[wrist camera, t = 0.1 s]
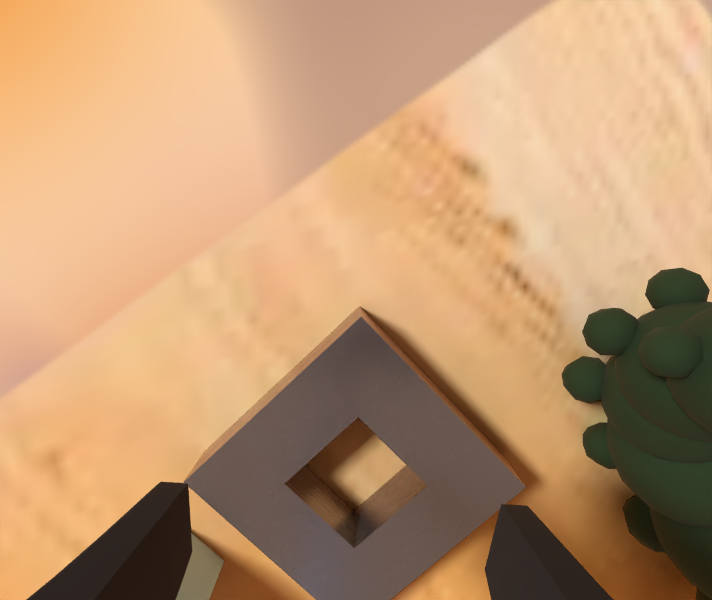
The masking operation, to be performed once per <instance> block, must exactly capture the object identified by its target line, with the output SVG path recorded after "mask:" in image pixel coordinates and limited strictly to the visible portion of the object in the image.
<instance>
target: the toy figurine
mask: <svg viewBox="0 0 712 600" xmlns="http://www.w3.org/2000/svg"><path fill="white" fill-rule="evenodd" d="M709 291H710V290H709V288H708V287H707V285H706V283H705V282H704V280H703V279H702V277H701V275H699V274H697V273H694V272H692V271H689V270H686V269H684V268H676V269H668V270H661V271H660V272H659V273H657V274H656V275H655V276H653V277H652V278H651V279H650V280H649V281H648V285H647V289H646V293H645V295H646V297H647V299H648V300H649V302H650V304H651V306H652V307H653V308H654V309H656V310H653V311H651V312H649V313H647V314H645V315H642V316H641V317H639V318H638V319H636V318H635V317H634V316H632V315H630V314H629V313H627V312H626V311H624V310H623V309H620V308H610V309H601V310H599V311H597V312H594V313H592V314H590V315H589V316H588V319H587V321H586V324H585V326H584V329H583V331H582V333H583V335H584V338H585V341H586V343H587V346H589V347H590V348H591V349H593V350H594V351H596V352H597V353H599V354H600V355H613V356H612V357H611V358H610V359H609V361H608V362H607V364H606V365H605V364H604V363H603V362H602V361H601V360H600V359H599V358H592V357H585V356H582V357H580V358H579V359H577V360H575V361H573V362H572V363H570V364H569V365H567V366H566V367H565V369H564V371H563V373H562V378H563V385H564V387H565V388H566V389H567V390H568V391H569V393H570V394H571V395H572V396H573V397H574V398H575V399H576V400H579V401H583V402H586V403H593V402H595V401H598V400H601V401H602V407H603V409H604V411H605V413H606V415H607V418H608V422H607V423H598V424H595V425H593V426H590V427H588V428H587V429H586V431H585V432H584V434H583V446H584V449H585V452H586V455H587V456H588V457H589V458H591V459H592V460H593V461H595V462H596V463H598V464H600V465H602V466H604V467H606V468H608V469H616V468H617V471H618V473H619V475H620V477H621V479H622V481H623V482H624V483H625V484H626V485H627V486H628V487H629V488H630V489H631V490H632V491H633V492H634V493H635V494H636V495H635V496H633V497H631V498H630V499H628V500H627V501H626V503H625V505H624V507H623V510H624V514H625V518H626V522H627V526H628V529H629V532H630V533H631V534H632V535H633V536H634V537H635V538H636V539H637V540H638V541H639V542H640V543H642V544H643V545H644V546H646V547H648V548H650V549H652V550H654V551H657V552H663V553H666V554H667V555H668V557H669V558H670V559H671V560H672V562H673V563H674V564H675V565H676V567H677V568H678V569H679V570H680V571H681V572H682V574H683V575H684V576H685V577H686V578H687V579H688V581H689V582H690V583H691V584H692V585H693V586H695V587H696V588H697V593H696V600H712V302H706V301H707V298H708V295H709Z"/></svg>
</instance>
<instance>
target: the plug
mask: <svg viewBox="0 0 712 600" xmlns="http://www.w3.org/2000/svg"><path fill="white" fill-rule="evenodd" d="M191 537H192V554H191V557H190V560H189V563H188V566H187V569H186V572H185V575H184V578H183V581H182V584H181V586H180V589H179V592H178V595H177V598H176V600H209V599H210V596H211V594H212V591H213V589H214V586H215V584H216V581H217V578H218V576H219V573H220V571H221V568H222V566H223V563H224V560H223V559H222V558H220V557H219V556H218V555H217V554H216V553H215V552H213V551H212V550H211V549H210V548H209V547H208V546H207V545H205V544H204V543H203V542H202V541H201V540H200V539H198V538H197V537H196V536H195V535H194V534H193V533H192V532H191Z"/></svg>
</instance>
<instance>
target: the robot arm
mask: <svg viewBox="0 0 712 600" xmlns="http://www.w3.org/2000/svg"><path fill="white" fill-rule="evenodd" d="M191 554H192V537H191V522H190V506H189V491H188V484H187V483H172V482H160V483H159V484H158V485H156V486H155V487H154V488H153V489H152V490H151V491H150V492H149V493H148V494H146V495H145V496H144V497H143V498H142V499H141V500H140V501H139V502H138V503H137V504H136V505H134V506H133V507H132V508H131V509H130V510H129V511H128V512H127V513H126V514H125V515H124V516H122V517H121V518H120V519H119V520H118V521H117V522H116V523H115V524H114V525H113V526H111V527H110V528H109V529H108V530H107V531H106V532H105V533H104V534H103V535H101V536H100V537H99V538H98V539H97V540H96V541H95V542H94V543H92V544H91V545H90V546H89V547H88V548H87V549H86V550H84V551H83V552H82V553H81V554H80V555H79V556H78V557H76V558H75V559H74V560H73V561H72V562H71V563H70V564H68V565H67V566H66V567H65V568H64V569H63V570H62V571H60V572H59V573H58V574H57V575H56V576H55V577H53V578H52V579H51V580H50V581H49V582H47V583H46V584H45V585H44V586H43V587H41V588H40V589H39V590H38V591H37V592H35V593H34V594H33V595H32V596H30V597H29V598H28V599H27V600H176V598H177V595H178V592H179V589H180V586H181V584H182V581H183V578H184V575H185V572H186V569H187V566H188V563H189V560H190V557H191ZM485 572H486V577H487V581H488V586H489V590H490V595H491V599H492V600H613V599H612V598H611V597H610V596H609V595H608V593H607V592H606V591H605V590H604V589H603V588H602V587H601V586H600V585H599V584H598V583H597V582H596V581H595V580H594V578H593V577H592V576H591V575H590V574H589V573H588V572H587V571H586V570H585V569H584V568H583V567H582V565H581V564H580V563H579V562H578V561H577V560H576V559H575V558H574V557H573V556H572V554H571V553H570V552H569V551H568V550H567V549H566V548H565V547H564V546H563V545H562V543H561V542H560V541H559V540H558V539H557V538H556V537H555V536H554V535H553V533H552V532H551V531H550V530H549V529H548V528H547V527H546V526H545V525H544V523H543V522H542V521H541V520H540V519H539V518H538V517H537V516H536V515H535V514H534V513H533V511H532V510H531V509H530V508H529V507H528V506H521V505H506V504H501V507H500V511H499V515H498V519H497V523H496V527H495V531H494V535H493V539H492V543H491V547H490V551H489V555H488V559H487V563H486V567H485Z"/></svg>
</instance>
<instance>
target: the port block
mask: <svg viewBox="0 0 712 600" xmlns="http://www.w3.org/2000/svg"><path fill="white" fill-rule="evenodd" d="M358 417H359V418H360V419H361V420H362V421H363V422H364V423H365V424H366V425H367V426H368V427H369V428H370V429H371V430H372V431H373V432H374V433H375V434H376V435H377V436H378V437H379V438H380V439H381V440H382V441H383V442H384V443H385V444H386V445H387V446H388V447H389V448H390V449H391V450H392V451H393V452H394V453H395V454H396V455H397V456H398V457H399V458H400V459H401V460H402V461H403V462H404V463H405V464H406V466H405V467H404V468H403V469H402V470H401V471H400V472H398V473H397V474H396V475H395V476H394V477H393V478H392V479H390V480H389V481H388V482H387V483H386V484H385V485H383V486H382V487H381V488H380V489H379V490H378V491H377V492H375V493H374V494H373V495H372V496H371V497H370V498H369V499H367V500H366V501H365V502H364V503H363V504H362V505H360V506H359V507H358V508H357V509H356V510H355V511H353V510H352V509H351V508H350V507H349V506H348V505H347V504H346V503H345V502H344V501H343V500H342V499H340V498H339V497H338V496H337V495H336V494H335V493H334V492H333V491H332V490H331V489H330V488H329V487H328V486H327V485H326V484H325V483H324V482H322V481H321V480H320V479H319V478H318V477H317V476H316V475H315V474H314V473H313V472H312V471H311V470H310V469H309V468H308V467H307V466H306V464H307V463H308V462H309V461H310V460H311V459H312V458H313V457H314V456H316V455H317V454H318V453H319V452H320V451H321V450H322V449H323V448H324V447H326V446H327V445H328V444H329V443H330V442H331V441H332V440H333V439H334V438H336V437H337V436H338V435H339V434H340V433H341V432H342V431H343V430H344V429H346V428H347V427H348V426H349V425H350V424H351V423H352V422H353V421H354V420H356V419H357V418H358ZM184 483H187V484H188V486H189V487H190V488H191V489H192V490H193V491H194V492H195V493H196V494H198V495H199V496H200V497H201V498H202V499H203V500H204V501H205V502H207V503H208V504H209V505H210V506H211V507H212V508H213V509H215V510H216V511H217V512H218V513H219V514H220V515H221V516H222V517H224V518H225V519H226V520H227V521H228V522H229V523H230V524H231V525H233V526H234V527H235V528H236V529H237V530H238V531H239V532H240V533H242V534H243V535H244V536H245V537H246V538H247V539H248V540H249V541H251V542H252V543H253V544H254V545H255V546H256V547H257V548H258V549H260V550H261V551H262V552H263V553H264V554H265V555H266V556H267V557H269V558H270V559H271V560H272V561H273V562H274V563H275V564H276V565H278V566H279V567H280V568H281V569H282V570H283V571H284V572H285V573H287V574H288V575H289V576H290V577H291V578H292V579H293V580H295V581H296V582H297V583H298V584H299V585H300V586H301V587H302V588H304V589H305V590H306V591H307V592H308V593H309V594H310V595H311V596H313V597H314V598H315V599H316V600H391V599H392V598H393V597H394V596H395V595H397V594H398V593H399V592H400V591H402V590H403V589H404V588H405V587H406V586H408V585H409V584H410V583H411V582H412V581H414V580H415V579H416V578H417V577H418V576H420V575H421V574H422V573H423V572H424V571H426V570H427V569H428V568H429V567H430V566H432V565H433V564H434V563H435V562H437V561H438V560H439V559H440V558H441V557H443V556H444V555H445V554H446V553H447V552H449V551H450V550H451V549H452V548H453V547H455V546H456V545H457V544H458V543H459V542H461V541H462V540H463V539H464V538H465V537H467V536H468V535H469V534H470V533H471V532H473V531H474V530H475V529H476V528H478V527H479V526H480V525H481V524H482V523H484V522H485V521H486V520H487V519H488V518H490V517H491V516H492V515H493V514H494V513H496V512H497V511H498V510H499V509H500V507H501V504H506V503H508V502H509V501H510V500H511V499H512V498H514V497H515V496H516V495H517V494H519V493H520V492H521V491H522V490H523V489H525V488H526V486H525V485H524V483H523V482H522V481H521V479H520V478H519V476H518V475H517V474H516V472H515V471H514V469H513V468H512V467H511V465H510V464H509V462H508V461H507V460H506V458H505V457H504V456H503V455H502V454H501V453H500V452H499V451H498V450H497V449H496V447H495V446H494V445H493V444H492V443H491V442H490V441H489V440H488V439H487V438H486V437H485V436H484V435H483V434H482V433H481V432H480V431H479V430H478V429H477V428H476V427H475V426H474V425H473V424H472V423H471V422H470V420H469V419H468V418H467V417H466V416H465V415H464V414H463V413H462V412H461V411H460V410H459V409H458V408H457V407H456V406H455V405H454V404H453V403H452V402H451V401H450V400H449V399H448V398H447V397H446V396H445V395H444V393H443V392H442V391H441V390H440V389H439V388H438V387H437V386H436V385H435V384H434V383H433V382H432V381H431V380H430V379H429V378H428V377H427V376H426V375H425V374H424V373H423V372H422V371H421V370H420V369H419V367H418V366H417V365H416V364H415V363H414V362H413V361H412V360H411V359H410V358H409V357H408V356H407V355H406V354H405V353H404V352H403V351H402V350H401V349H400V348H399V347H398V346H397V345H396V344H395V343H394V342H393V340H392V339H391V338H390V337H389V336H388V335H387V334H386V333H385V332H384V331H383V330H382V329H381V328H380V327H379V326H378V325H377V324H376V323H375V322H374V321H373V320H372V319H371V318H370V317H369V316H368V315H367V313H366V312H365V311H364V310H363V309H362V308H361V307H359V308H358V309H356V310H355V311H354V312H353V313H352V314H351V315H350V316H349V317H348V318H347V319H346V320H345V321H344V322H343V323H342V324H340V325H339V326H338V327H337V328H336V329H335V330H334V331H333V332H332V333H331V334H330V335H329V336H328V337H327V338H325V339H324V340H323V341H322V342H321V343H320V344H319V345H318V346H317V347H316V348H315V349H314V350H313V351H312V352H311V353H309V354H308V355H307V356H306V357H305V358H304V359H303V360H302V361H301V362H300V363H299V364H298V365H297V366H296V367H295V368H293V369H292V370H291V371H290V372H289V373H288V374H287V375H286V376H285V377H284V378H283V379H282V380H281V381H280V382H279V383H277V384H276V385H275V386H274V387H273V388H272V389H271V390H270V391H269V392H268V393H267V394H266V395H265V396H264V397H262V398H261V399H260V400H259V401H258V402H257V403H256V404H255V405H254V406H253V407H252V408H251V409H250V410H249V411H248V412H246V413H245V414H244V415H243V416H242V417H241V418H240V419H239V420H238V421H237V422H236V423H235V424H234V425H233V426H232V427H230V428H229V429H228V430H227V431H226V432H225V433H224V434H223V435H222V436H221V437H220V438H219V439H218V440H217V441H216V442H214V443H213V444H212V445H211V446H210V447H209V448H208V449H207V450H206V451H205V452H204V453H203V455H202V456H201V458H200V459H199V460H198V462H197V463H196V465H195V466H194V468H193V469H192V471H191V472H190V473H189V475H188V476H187V478H186V479H185V481H184Z"/></svg>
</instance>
